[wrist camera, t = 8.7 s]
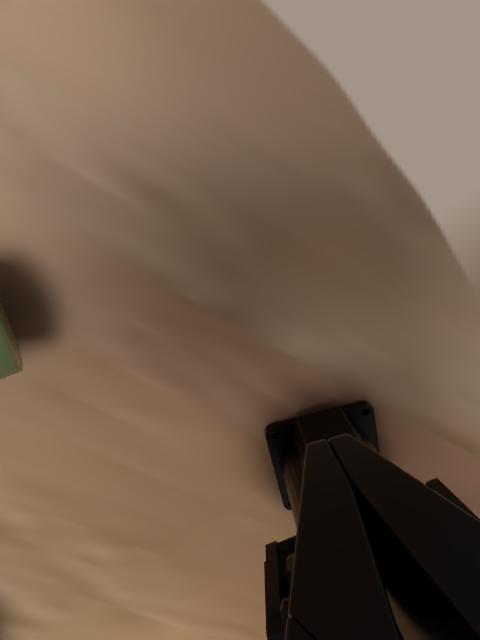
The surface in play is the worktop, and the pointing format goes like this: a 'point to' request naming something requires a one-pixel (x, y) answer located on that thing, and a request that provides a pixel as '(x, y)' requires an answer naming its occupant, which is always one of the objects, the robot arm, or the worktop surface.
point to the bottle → (8, 348)
